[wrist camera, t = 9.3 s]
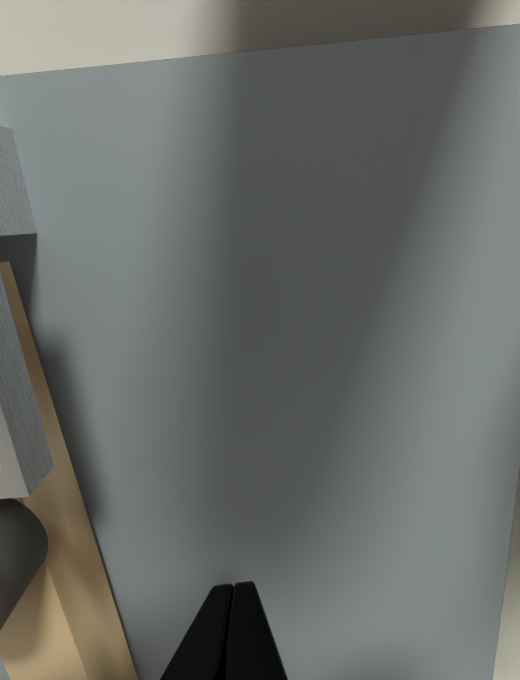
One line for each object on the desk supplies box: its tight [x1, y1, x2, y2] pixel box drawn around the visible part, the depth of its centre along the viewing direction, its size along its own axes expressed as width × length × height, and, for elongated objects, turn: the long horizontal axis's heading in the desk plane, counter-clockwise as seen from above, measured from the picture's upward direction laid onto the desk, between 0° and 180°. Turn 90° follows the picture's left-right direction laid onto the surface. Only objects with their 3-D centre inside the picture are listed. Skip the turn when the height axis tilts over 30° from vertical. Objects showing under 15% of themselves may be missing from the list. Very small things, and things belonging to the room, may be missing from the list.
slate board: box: [0, 24, 520, 680], centre depth 14 cm, size 22×23×1 cm
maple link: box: [0, 261, 138, 680], centre depth 11 cm, size 18×3×5 cm, turn 7°
